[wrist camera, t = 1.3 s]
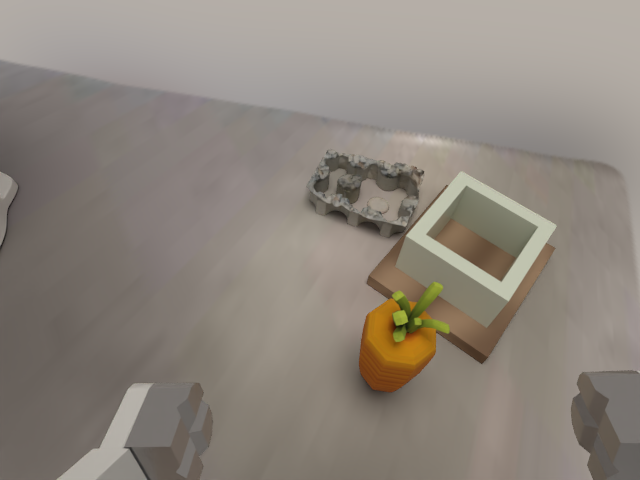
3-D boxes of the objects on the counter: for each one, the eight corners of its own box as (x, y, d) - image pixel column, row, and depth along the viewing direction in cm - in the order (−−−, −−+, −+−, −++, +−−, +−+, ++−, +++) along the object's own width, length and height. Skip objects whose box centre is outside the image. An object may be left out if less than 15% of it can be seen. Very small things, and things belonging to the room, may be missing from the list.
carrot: (395, 347, 42) (440, 254, 29) (416, 405, 39) (475, 330, 27) (339, 360, 41) (362, 270, 28) (356, 420, 38) (389, 350, 26)
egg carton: (421, 196, 52) (431, 170, 48) (397, 249, 48) (406, 225, 44) (329, 161, 54) (332, 133, 50) (299, 209, 50) (300, 183, 46)
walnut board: (366, 283, 45) (369, 275, 44) (443, 194, 52) (446, 184, 50) (481, 363, 41) (487, 357, 40) (548, 256, 48) (555, 248, 47)
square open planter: (395, 266, 45) (406, 235, 40) (446, 204, 49) (461, 171, 45) (486, 327, 42) (508, 301, 38) (532, 256, 46) (557, 225, 42)
